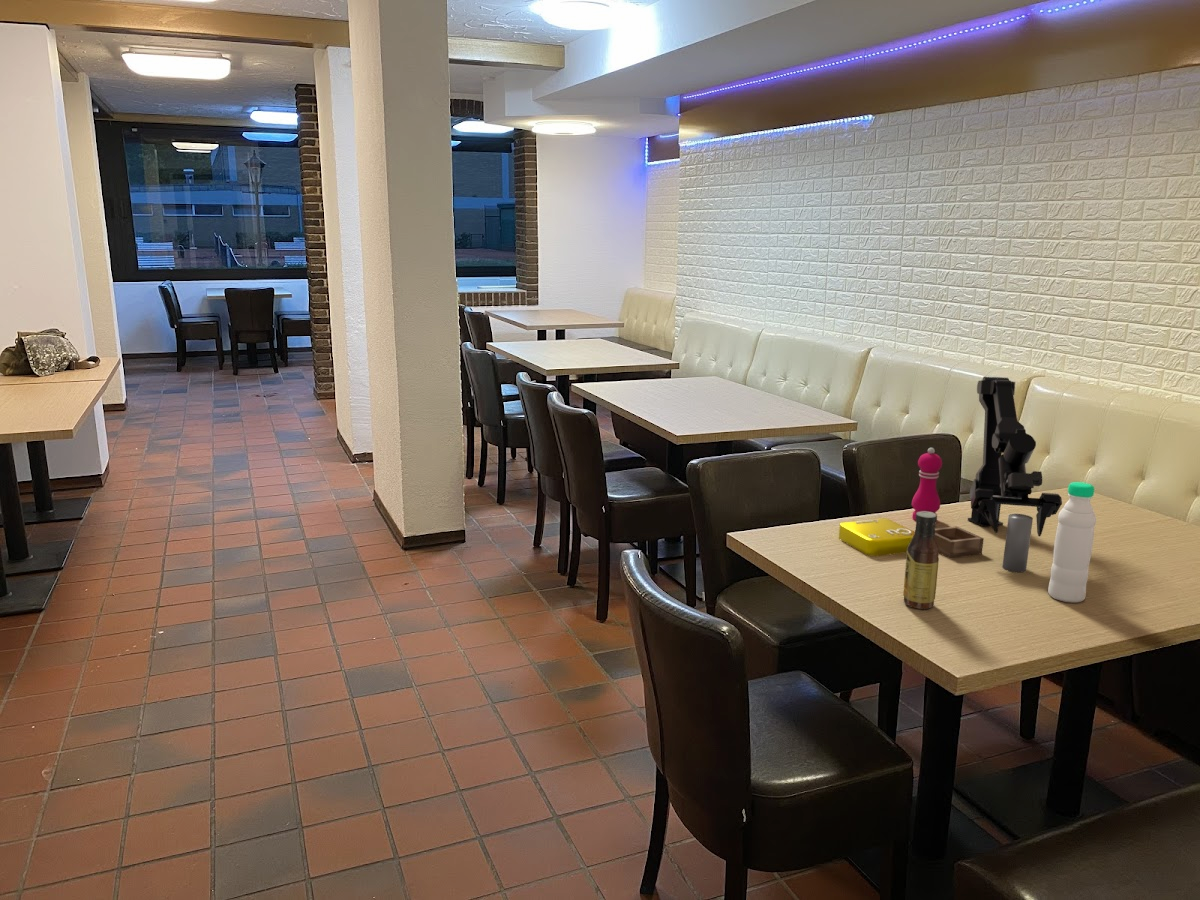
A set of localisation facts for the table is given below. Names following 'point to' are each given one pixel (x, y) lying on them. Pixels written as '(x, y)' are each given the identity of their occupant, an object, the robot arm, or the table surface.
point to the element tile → (876, 536)
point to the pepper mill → (927, 484)
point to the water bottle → (1073, 545)
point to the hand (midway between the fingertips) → (1018, 533)
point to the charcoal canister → (1017, 543)
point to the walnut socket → (958, 542)
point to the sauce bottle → (922, 563)
